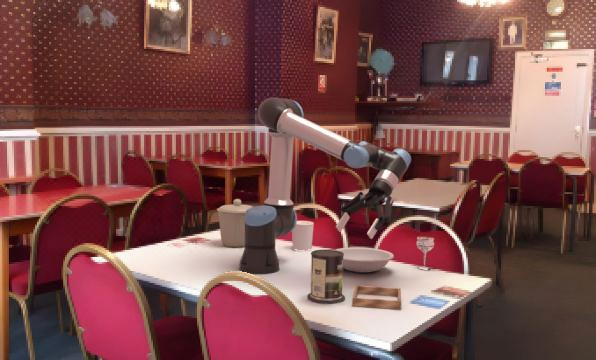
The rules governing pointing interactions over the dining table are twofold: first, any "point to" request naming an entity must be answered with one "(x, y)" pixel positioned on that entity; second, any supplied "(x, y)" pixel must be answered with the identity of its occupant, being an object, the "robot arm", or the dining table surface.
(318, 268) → the coffee can
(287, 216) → the robot arm
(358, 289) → the oak caddy
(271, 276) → the dining table surface
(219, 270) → the dining table surface
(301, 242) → the candle holder
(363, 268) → the soup bowl
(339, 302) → the black coaster
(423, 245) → the wineglass
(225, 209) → the canister
